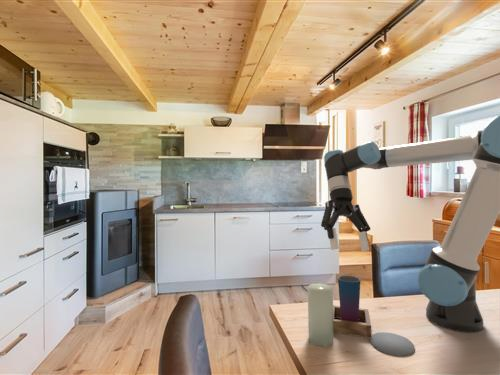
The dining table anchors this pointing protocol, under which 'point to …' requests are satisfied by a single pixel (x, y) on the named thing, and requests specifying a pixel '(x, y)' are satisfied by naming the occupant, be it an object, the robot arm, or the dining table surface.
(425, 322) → the dining table surface
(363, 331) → the wooden tray box
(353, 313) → the cup
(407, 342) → the felt pad
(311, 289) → the pillar candle
